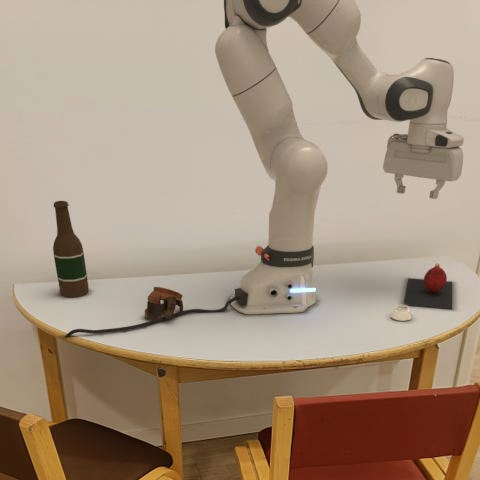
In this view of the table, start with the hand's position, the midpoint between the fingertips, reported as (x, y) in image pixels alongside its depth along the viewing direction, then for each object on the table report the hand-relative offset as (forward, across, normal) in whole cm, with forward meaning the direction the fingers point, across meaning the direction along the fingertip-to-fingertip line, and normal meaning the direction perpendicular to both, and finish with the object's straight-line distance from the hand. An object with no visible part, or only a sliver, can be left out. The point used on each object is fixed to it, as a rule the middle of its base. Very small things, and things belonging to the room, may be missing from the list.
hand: (416, 195), depth 154 cm
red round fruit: (+24, +9, 0) cm, 26 cm away
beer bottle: (+26, -64, -64) cm, 94 cm away
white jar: (+24, +12, -21) cm, 34 cm away
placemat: (+24, +8, 0) cm, 25 cm away
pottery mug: (+26, -32, -59) cm, 72 cm away
